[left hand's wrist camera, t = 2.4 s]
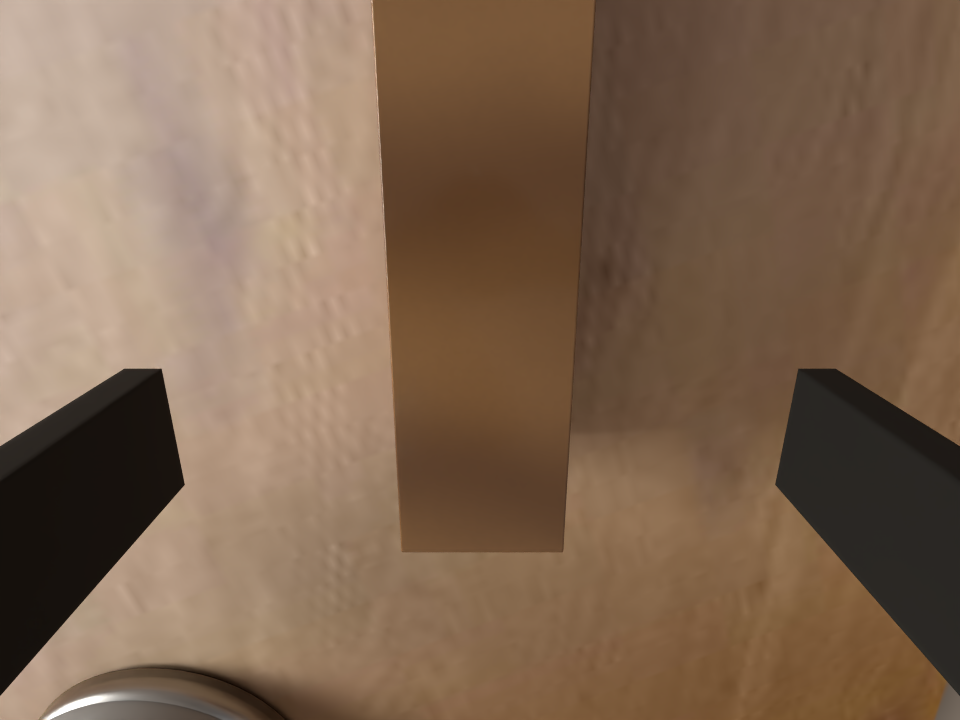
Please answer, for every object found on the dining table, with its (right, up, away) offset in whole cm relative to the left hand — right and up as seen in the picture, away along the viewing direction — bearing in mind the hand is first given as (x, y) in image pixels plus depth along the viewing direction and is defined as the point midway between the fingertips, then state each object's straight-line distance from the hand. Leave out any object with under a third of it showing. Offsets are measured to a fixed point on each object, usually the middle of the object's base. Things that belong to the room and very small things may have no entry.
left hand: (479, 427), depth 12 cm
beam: (0, +24, +4) cm, 24 cm away
